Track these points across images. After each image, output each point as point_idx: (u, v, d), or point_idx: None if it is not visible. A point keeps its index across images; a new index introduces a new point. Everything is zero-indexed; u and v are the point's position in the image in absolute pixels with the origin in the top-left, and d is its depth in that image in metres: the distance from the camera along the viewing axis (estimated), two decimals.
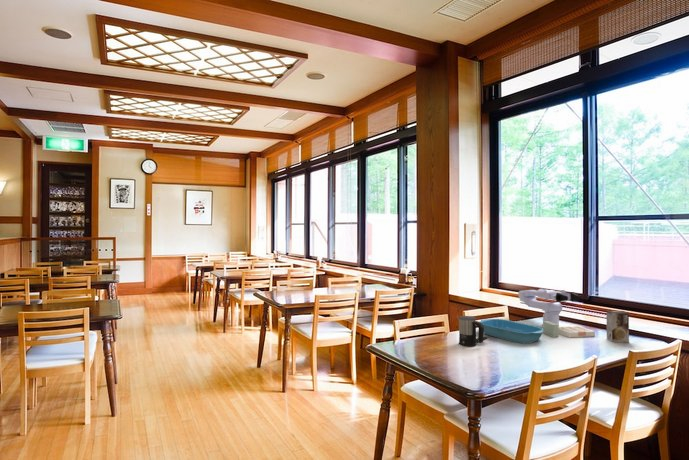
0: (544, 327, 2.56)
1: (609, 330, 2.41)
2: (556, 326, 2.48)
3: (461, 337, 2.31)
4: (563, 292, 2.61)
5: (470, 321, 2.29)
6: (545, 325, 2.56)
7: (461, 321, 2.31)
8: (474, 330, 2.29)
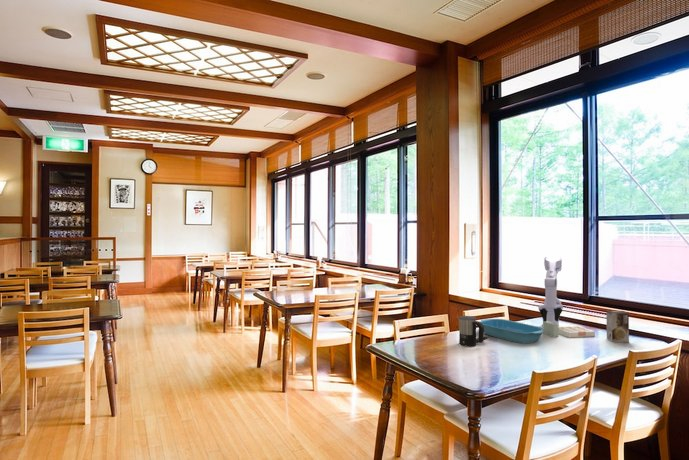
0: (544, 327, 2.56)
1: (609, 330, 2.41)
2: (556, 326, 2.48)
3: (461, 337, 2.31)
4: (553, 307, 2.51)
5: (470, 321, 2.29)
6: (545, 325, 2.56)
7: (461, 321, 2.31)
8: (474, 330, 2.30)
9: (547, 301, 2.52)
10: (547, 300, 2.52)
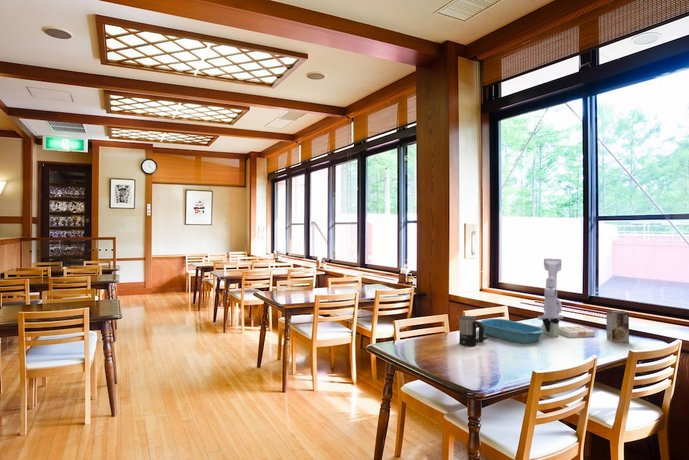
0: (544, 327, 2.56)
1: (609, 330, 2.41)
2: (556, 326, 2.49)
3: (461, 337, 2.31)
4: (553, 318, 2.51)
5: (470, 321, 2.29)
6: None
7: (461, 321, 2.31)
8: (474, 330, 2.30)
9: (547, 311, 2.52)
10: (547, 310, 2.52)
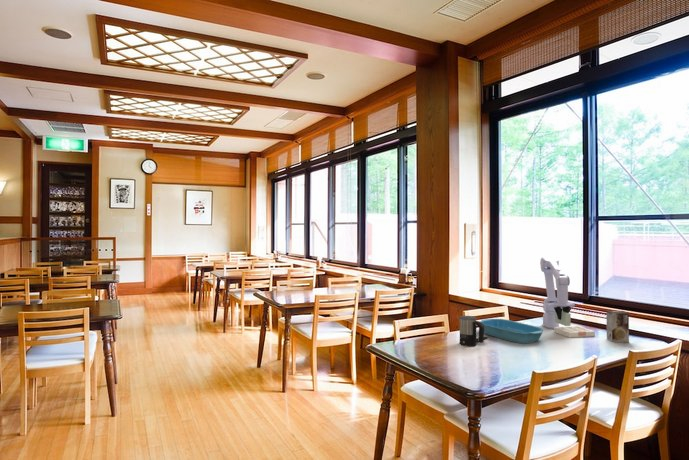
0: (556, 316, 2.57)
1: (609, 330, 2.41)
2: (568, 315, 2.49)
3: (461, 337, 2.32)
4: (565, 305, 2.51)
5: (470, 321, 2.29)
6: None
7: (461, 321, 2.31)
8: (474, 330, 2.30)
9: (559, 299, 2.53)
10: (559, 298, 2.53)
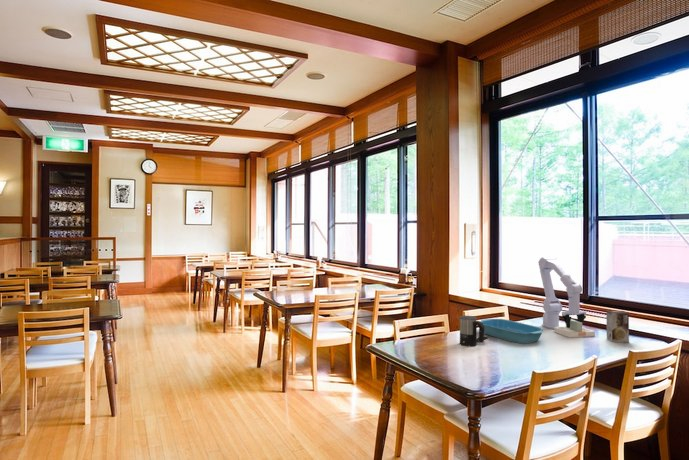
0: None
1: (609, 330, 2.41)
2: (580, 324, 2.50)
3: (462, 337, 2.32)
4: (576, 313, 2.52)
5: (471, 321, 2.30)
6: None
7: (462, 321, 2.32)
8: (475, 330, 2.30)
9: (570, 307, 2.53)
10: (570, 306, 2.53)
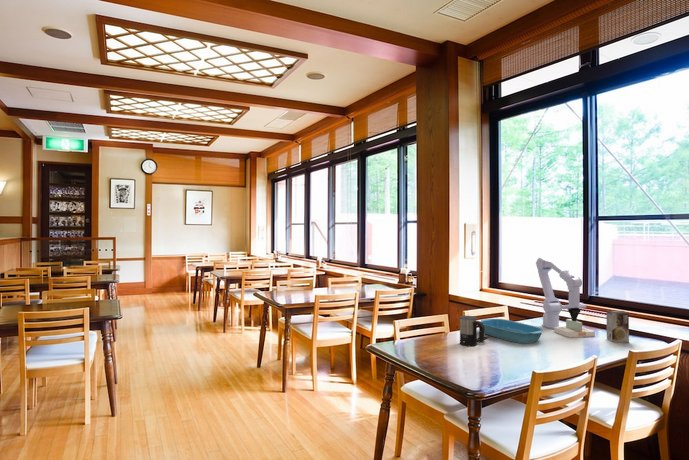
0: (568, 325, 2.58)
1: (609, 330, 2.41)
2: (580, 324, 2.50)
3: (462, 337, 2.32)
4: None
5: (471, 321, 2.30)
6: (568, 323, 2.57)
7: (462, 321, 2.32)
8: (475, 330, 2.30)
9: (571, 301, 2.53)
10: (571, 300, 2.53)
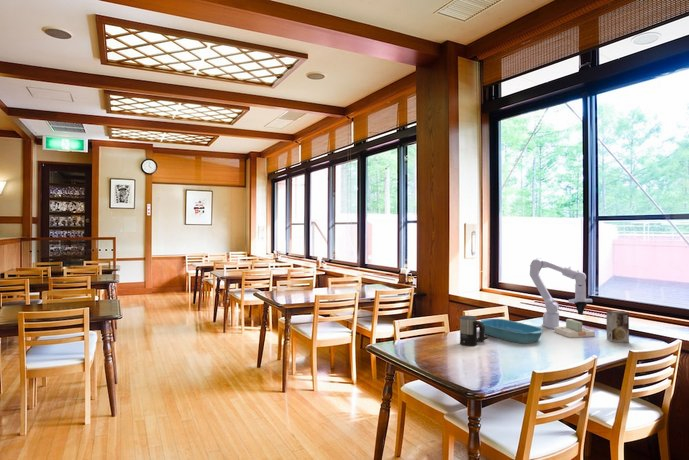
0: (568, 325, 2.58)
1: (609, 330, 2.41)
2: (580, 324, 2.50)
3: (462, 336, 2.32)
4: None
5: (471, 321, 2.30)
6: (568, 323, 2.57)
7: (462, 321, 2.32)
8: (475, 330, 2.30)
9: (577, 295, 2.61)
10: (577, 294, 2.61)
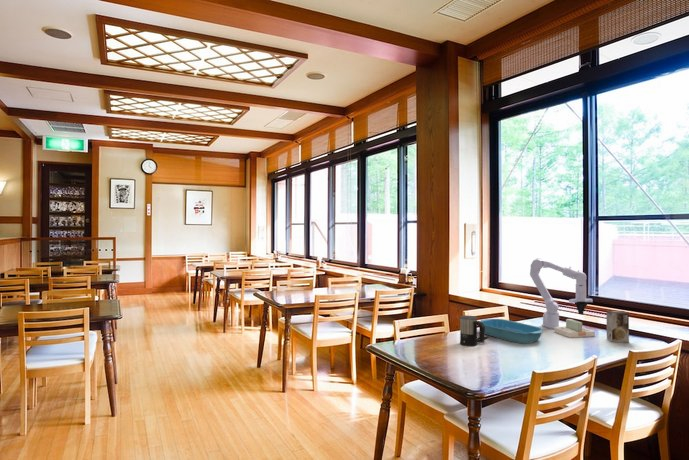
0: (568, 325, 2.58)
1: (609, 330, 2.41)
2: (580, 324, 2.50)
3: (462, 336, 2.32)
4: (583, 301, 2.60)
5: (471, 321, 2.30)
6: (568, 323, 2.57)
7: (462, 321, 2.32)
8: (475, 330, 2.31)
9: (577, 295, 2.62)
10: (577, 294, 2.62)
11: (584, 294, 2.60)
